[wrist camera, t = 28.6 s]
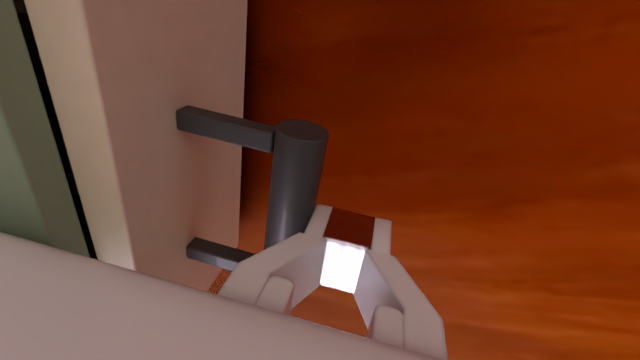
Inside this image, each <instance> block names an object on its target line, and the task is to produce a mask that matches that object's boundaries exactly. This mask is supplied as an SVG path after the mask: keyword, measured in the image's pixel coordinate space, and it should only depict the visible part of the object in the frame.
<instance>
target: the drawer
mask: <svg viewBox="0 0 640 360" xmlns="http://www.w3.org/2000/svg"><path fill="white" fill-rule="evenodd" d="M247 1H248V0H13V2H14V5H15V9H16V12H17V15H18V19H19V22H20V25H21V29H22V32H23V35H24V39H25V42H26V45H27V49H28V52H29V55H30V59H31V62H32V65H33V69H34V72H35V75H36V79H37V82H38V85H39V89H40V92H41V95H42V99H43V102H44V105H45V109H46V112H47V115H48V119H49V122H50V125H51V129H52V132H53V135H54V139H55V142H56V145H57V149H58V152H59V155H60V159H61V162H62V165H63V169H64V172H65V175H66V179H67V182H68V185H69V189H70V192H71V195H72V199H73V202H74V205H75V209H76V212H77V215H78V219H79V222H80V225H81V229H82V232H83V235H84V239H85V242H86V245H87V249H88V252H89V255H90V258H93V259H96V260H100V261H103V262H107V263H110V264H113V265H117V266H120V267H124V268H127V269H131V270H134V271H138V272H141V273H145V274H148V275H152V276H155V277H159V278H162V279H165V280H169V281H172V282H176V283H179V284H183V285H186V286H190V287H193V288H197V289H200V290H204V291H208V289H209V288H210V286H211V285H212V283H213V282H214V281H215V279H216V278H217V276H218V275H219V273H220V272H221V270H222V269H226V270H229V271H233V269H234V268H235V266H236V265H237V263H239V262H241V261H243V260H245V259H247V258H249V257H251V256H253V255H255V254H253V253H250V252H246V251H243V250H239V249H236V248H237V246H238V239H239V212H240V186H241V160H242V146H244V147H248V148H252V149H256V150H260V151H264V152H268V153H271V152H272V151H273V150H274V151H273V161H272V172H271V182H270V193H269V203H268V213H267V224H266V234H265V244H264V250H265V249H267V248H269V247H271V246H273V245H275V244H277V243H279V242H281V241H283V240H285V239H287V238H289V237H291V236H293V235H295V234H297V233H299V232H300V233H304V232H305V230H306V227H307V225H308V223H309V221H310V218H311V216H312V214H313V211H314V209H315V204H316V199H317V193H318V188H319V183H320V178H321V173H322V167H323V162H324V157H325V152H326V147H327V141H328V136H329V135H328V132H327V130H326V129H325V128H323V127H322V126H320V125H318V124H315V123H312V122H309V121H303V120H286V121H282V122H280V123H278V124H277V126H272V125H268V124H264V123H259V122H255V121H251V120H247V119H243V107H244V80H245V54H246V28H247Z"/></svg>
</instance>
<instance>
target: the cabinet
mask: <svg viewBox="0 0 640 360" xmlns="http://www.w3.org/2000/svg"><path fill="white" fill-rule="evenodd" d="M0 232H3V233H6V234H10V235H13V236H17V237H20V238H24V239H27V240H31V241H34V242H37V243H41V244H44V245H48V246H51V247H55V248H58V249H62V250H65V251H69V252H72V253H75V254H79V255H82V256H86V257H89V258H90V255H89V252H88V249H87V245H86V242H85V239H84V235H83V232H82V229H81V225H80V222H79V219H78V215H77V212H76V209H75V205H74V202H73V199H72V195H71V192H70V189H69V185H68V182H67V179H66V175H65V172H64V169H63V165H62V162H61V159H60V155H59V152H58V149H57V145H56V142H55V139H54V135H53V132H52V129H51V125H50V122H49V119H48V115H47V112H46V109H45V105H44V102H43V99H42V95H41V92H40V89H39V85H38V82H37V79H36V75H35V72H34V69H33V65H32V62H31V59H30V55H29V52H28V49H27V45H26V42H25V39H24V35H23V32H22V29H21V25H20V22H19V19H18V15H17V12H16V9H15V5H14V2H13V0H0Z"/></svg>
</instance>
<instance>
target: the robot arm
mask: <svg viewBox="0 0 640 360" xmlns="http://www.w3.org/2000/svg"><path fill="white" fill-rule="evenodd" d="M391 226H392V222H391V220H387V219H382V218H377V217H370V216H366V215H362V214H358V213H354V212H350V211H346V210H343V209H339V208H335V207H331V206H327V205H322V204H317V205H316V207H315V209H314V211H313V214H312V216H311V218H310V221H309V223H308V225H307V227H306V230H305V232H304V233H300V232H299V233H297V234H295V235H293V236H291V237H289V238H287V239H285V240H283V241H281V242H279V243H277V244H275V245H273V246H271V247H269V248H267V249H265V250H263V251H261V252H259V253H257V254H255V255H253V256H251V257H249V258H247V259H245V260H243V261H241V262H239V263H237V265H236V266H235V268H234V269H233V271H232V272H231V274H230V275H229V277H228V278H227V280H226V282H225V283H224V285H223V286H222V288H221V289H220V291H219V292H218V294H214V293H210V292H207V291H204V290H200V289H197V288H193V287H190V286H186V285H183V284H179V283H176V282H172V281H169V280H165V279H162V278H159V277H155V276H152V275H148V274H145V273H141V272H138V271H134V270H131V269H127V268H124V267H120V266H117V265H113V264H110V263H107V262H103V261H100V260H96V259H93V258H89V257H86V256H82V255H79V254H75V253H72V252H69V251H65V250H62V249H58V248H55V247H51V246H48V245H44V244H41V243H37V242H34V241H31V240H27V239H24V238H20V237H17V236H13V235H10V234H6V233H3V232H0V360H448V356H447V348H446V340H445V333H444V325H443V319H442V318H441V317H440V315H439V314H438V313H437V311H436V310H435V309H434V307H433V306H432V305H431V303H430V302H429V301H428V299H427V298H426V297H425V295H424V294H423V293H422V291H421V290H420V289H419V287H418V286H417V285H416V283H415V282H414V281H413V279H412V278H411V277H410V275H409V274H408V273H407V271H406V270H405V269H404V267H403V266H402V265H401V264H400V262H399V261H398V260H397V258H396V257H395V256H392V255H390V248H391ZM319 285H322V286H326V287H331V288H335V289H338V290H342V291H345V292H348V293H352V294H354V298H355V300H356V303H357V305H358V307H359V310H360V312H361V315H362V317H363V319H364V322H365V324H366V327H367V329H368V331H367V334H366V337H363V336H360V335H356V334H353V333H349V332H346V331H342V330H339V329H335V328H332V327H328V326H325V325H321V324H318V323H315V322H311V321H308V320H304V319H301V318H297V317H294V316H291V309H292V308H294V307H295V306H296V305H297V304H298V303H300V302H301V301H302V300H303V299H304V298H306V297H307V296H308V295H309V294H310V293H311V292H313V291H314V290H315V289H316V288H317V287H319Z"/></svg>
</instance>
